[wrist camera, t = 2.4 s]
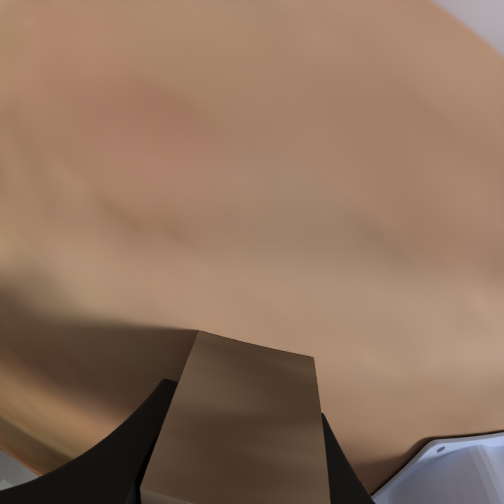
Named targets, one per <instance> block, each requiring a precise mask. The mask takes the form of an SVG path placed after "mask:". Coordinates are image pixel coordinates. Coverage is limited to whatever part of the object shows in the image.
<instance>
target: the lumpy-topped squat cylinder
mask: <svg viewBox="0 0 504 504" xmlns="http://www.w3.org/2000/svg"><path fill="white" fill-rule="evenodd" d="M36 478H38V476H37V475H35V474H34V473H33V472H31V471H30V470H29V469H28V468H26V467H25V466H24V465H22V464H21V463H20V462H18V461H17V460H16V459H14V458H13V457H11V456H10V455H9V454H7V453H6V452H4V451H3V450H1V449H0V483H1V481H2V480H3V479H4V480H6V481H7V482H8V483H10V484H11V485H13V486H17V485H20V484H23V483H26V482H28V481H31V480H34V479H36Z"/></svg>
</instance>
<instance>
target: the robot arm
mask: <svg viewBox="0 0 504 504" xmlns="http://www.w3.org/2000/svg"><path fill="white" fill-rule="evenodd" d="M178 383H179V382H175V381H172V380H169V379H163V380H162V381H161V382H160V383H159V385H158V386H157V387H156V389H155V390H154V391H153V392H152V394H151V395H150V396H149V397H148V398H147V399H146V400H145V401H144V403H143V404H142V405H141V406H140V407H139V408H138V409H137V410H136V411H135V412H134V413H133V414H132V415H131V416H130V417H129V418H128V419H127V420H126V421H124V422H123V423H122V424H121V425H120V426H119V427H118V428H116V429H115V430H114V431H113V432H112V433H111V434H109V435H108V436H107V437H106V438H104V439H103V440H102V441H101V442H99V443H98V444H97V445H95V446H94V447H92V448H91V449H89V450H88V451H87V452H85V453H84V454H82V455H80V456H79V457H77V458H75V459H74V460H72V461H70V462H69V463H67V464H65V465H63V466H62V467H60V468H58V469H56V470H54V471H52V472H49V473H47V474H45V475H43V476H40V477H38V478H36V479H34V480H31V481H28V482H26V483H23V484H20V485H17V486H13V487H10V488H7V489H3V490H0V504H142V503H141V493H140V486H141V483H142V481H143V478H144V475H145V472H146V470H147V467H148V464H149V461H150V458H151V456H152V453H153V450H154V447H155V445H156V442H157V439H158V437H159V434H160V431H161V428H162V426H163V423H164V420H165V418H166V415H167V412H168V410H169V407H170V404H171V402H172V399H173V396H174V394H175V391H176V388H177V386H178ZM321 416H322V424H323V433H324V442H325V451H326V460H327V470H328V481H329V492H330V504H504V432H502V433H496V434H489V435H482V436H473V437H464V438H452V439H438V440H433V441H431V442H429V443H428V444H426V445H425V446H424V447H423V449H422V450H421V451H420V452H419V453H418V454H417V455H416V456H415V457H414V458H413V459H412V460H411V461H410V462H409V463H408V464H407V465H406V466H405V467H404V468H403V469H402V470H401V471H400V472H398V473H397V474H396V475H395V476H394V477H393V478H392V479H391V480H390V481H389V482H388V483H386V484H385V485H384V486H383V487H382V488H381V489H380V490H378V491H377V492H376V493H375V494H374V495H373V496H371V497H370V495H369V494H368V493H367V491H366V490H365V488H364V487H363V485H362V484H361V482H360V481H359V479H358V478H357V476H356V474H355V473H354V471H353V469H352V468H351V466H350V464H349V462H348V461H347V459H346V457H345V455H344V453H343V451H342V450H341V448H340V446H339V444H338V442H337V440H336V438H335V436H334V434H333V432H332V430H331V428H330V426H329V423H328V421H327V419H326V417H325V415H324V414H323V413H321Z"/></svg>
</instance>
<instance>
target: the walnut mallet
mask: <svg viewBox="0 0 504 504" xmlns="http://www.w3.org/2000/svg"><path fill="white" fill-rule="evenodd" d="M140 493H141V503H142V504H330V492H329V481H328V470H327V460H326V451H325V442H324V433H323V424H322V416H321V408H320V400H319V392H318V385H317V377H316V370H315V363H314V358H313V357H308V356H303V355H298V354H293V353H288V352H284V351H279V350H274V349H270V348H265V347H261V346H257V345H253V344H248V343H244V342H240V341H236V340H232V339H228V338H224V337H220V336H217V335H213V334H209V333H205V332H202V331H198V334H197V336H196V339H195V342H194V344H193V347H192V349H191V352H190V355H189V357H188V360H187V362H186V365H185V367H184V370H183V373H182V375H181V378H180V381H179V383H178V386H177V388H176V391H175V394H174V396H173V399H172V402H171V404H170V407H169V410H168V412H167V415H166V418H165V420H164V423H163V426H162V428H161V431H160V434H159V437H158V439H157V442H156V445H155V447H154V450H153V453H152V456H151V458H150V461H149V464H148V467H147V470H146V472H145V475H144V478H143V481H142V483H141V486H140Z"/></svg>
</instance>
